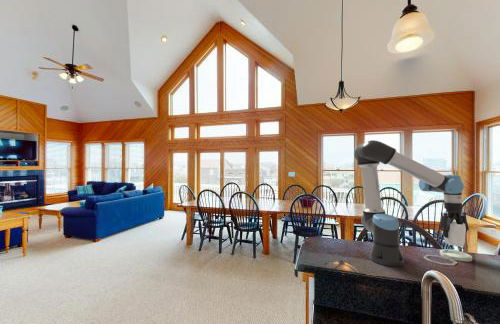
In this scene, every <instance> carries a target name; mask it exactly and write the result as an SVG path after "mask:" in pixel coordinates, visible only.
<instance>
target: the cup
mask: <svg viewBox="0 0 500 324" xmlns="http://www.w3.org/2000/svg"><path fill="white" fill-rule="evenodd" d="M449 232H450V235H451V244H449V246H454V247H465V244H464V241H465V242H466V227H465V223H463V225H461V224H457V223H456V221H455V220H454V221H452V224H450V230H449Z"/></svg>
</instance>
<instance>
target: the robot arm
mask: <svg viewBox="0 0 500 324" xmlns="http://www.w3.org/2000/svg"><path fill="white" fill-rule="evenodd" d="M353 155H354V158H355V159H356V161H357V166H358V167H359V168H360V173H361V174H360V175H361V183H362V190H363V191H362V192H363V200H364V201H363V202H364V208H363V209H362V217H361V225H362V226H363V227H364V229H365V230H367V231H368V232H369V233H371V234H372V236H373V237H372V239H373V240H372V243H373V244H372V247H371V249H370V252H369V258H370V260H371V261H373V262H374V263H376V264H380V265H381V266H382V265H383V266H388V267H402V266H403V267H404V265H405V258H404V256H403V254H402V251H401V249H400V224H399V223H400V222H399V218H397V217H396V216H394V215H392V214H388V213H386V210H385V209H384V208H383V207H382V198H381V192H380V191H381V190H380V182H379V175H378V172H379V171H378V166H379V165H380V164H383V165H389V166H392V167H393V168H395V169H397V170H399V171H402V172H403V173H406V174H408V175H409V176H410V177H413V178H415V179H417V180H419V181H418V188H419V189H420V191H422V192H434V193H435V192H436V193H443V201H444V202H443V208H444V209H445V212H443V211H441V212H440V215H441V216H440V217H441V218H440V224H439V230H440V231H442V232H443V238H444V244H448V245H450V244H451V235H450V232H449V230H450V224H452V221H454V222H456V223H457V224H461V225H463V223H465V227H466V232H468V231H469V223H468V220H467V211H466V212H465V211H462V210H463V195H462V193H463V191H464V188H465V186H464V185H465V184H464V183H463V181H462V178H461V176H460V175H459V174H442V173H440V172H438V171H436V170H434V169H432V168H430V167H428V166H426V165H424V164H422V163H420V162H418V161H417V160H414V159H411V158H410V157H408V156H406V155H404V154H401V153H400V152H398V151H397V149H396V148H395V147H392V146H390V145H388V144H386V143H384V142H381V141H378V140H368V141H366V142H362V143H360V144H359V145H357V146H356V147H355V150H354V152H353ZM465 244H466V240H465V241H464V245H465Z"/></svg>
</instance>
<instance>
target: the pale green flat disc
mask: <svg viewBox="0 0 500 324" xmlns="http://www.w3.org/2000/svg"><path fill="white" fill-rule="evenodd" d="M445 250H446V249H439V256H442V257H446V258H450V259H452V260H454V261H459V262H472V261H473V256H472V255H470V254H469V253H466V252H462V251H458V250H453V249H447V250H448V251H445Z"/></svg>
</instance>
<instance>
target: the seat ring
mask: <svg viewBox="0 0 500 324" xmlns="http://www.w3.org/2000/svg"><path fill="white" fill-rule="evenodd" d="M428 257H431V258H440V259H444V260H447V261H450V262H452V263H446V262H444V263H443V262H439V261H435V260H432V259H430V258H428ZM423 259H425V260H426V261H428V262H431V263H434V264H437V265H441V266H450V267H451V266H456V265H458V262H457V260H453V259H450V258H446V257H443V256H441V255H436V254H426V255H424V256H423Z"/></svg>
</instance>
